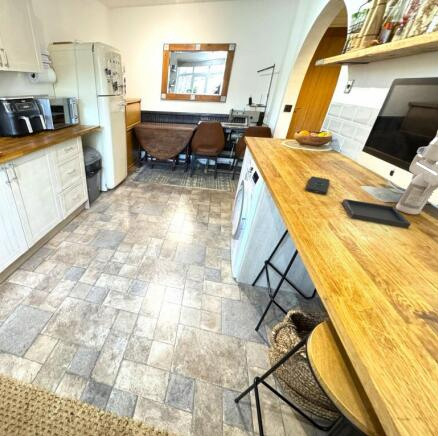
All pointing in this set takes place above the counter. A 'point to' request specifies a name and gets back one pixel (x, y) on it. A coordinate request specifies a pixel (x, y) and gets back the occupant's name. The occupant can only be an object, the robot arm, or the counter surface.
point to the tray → (375, 213)
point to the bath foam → (414, 196)
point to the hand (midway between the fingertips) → (418, 190)
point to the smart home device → (318, 185)
